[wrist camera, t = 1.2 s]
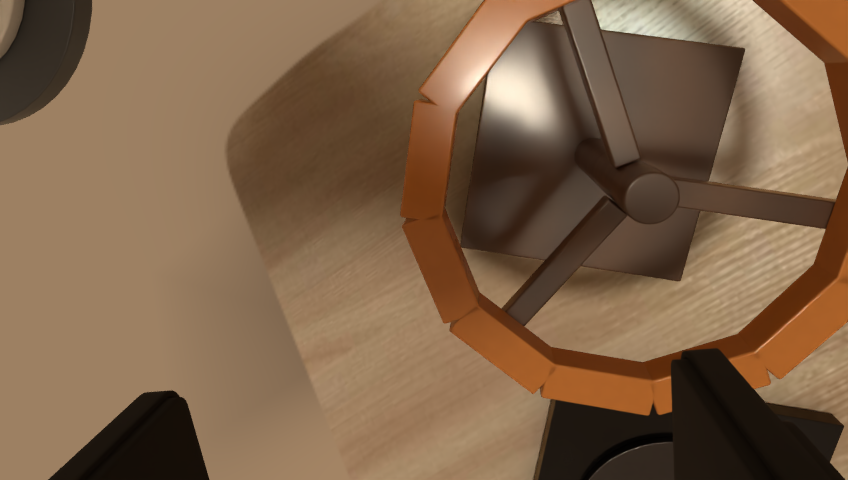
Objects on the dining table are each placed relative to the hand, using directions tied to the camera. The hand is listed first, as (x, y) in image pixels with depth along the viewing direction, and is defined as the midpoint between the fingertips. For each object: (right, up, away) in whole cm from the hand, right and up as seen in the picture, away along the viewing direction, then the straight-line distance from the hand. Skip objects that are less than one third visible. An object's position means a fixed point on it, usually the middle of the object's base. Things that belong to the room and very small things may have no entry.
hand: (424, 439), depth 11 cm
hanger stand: (+10, +8, +19) cm, 24 cm away
